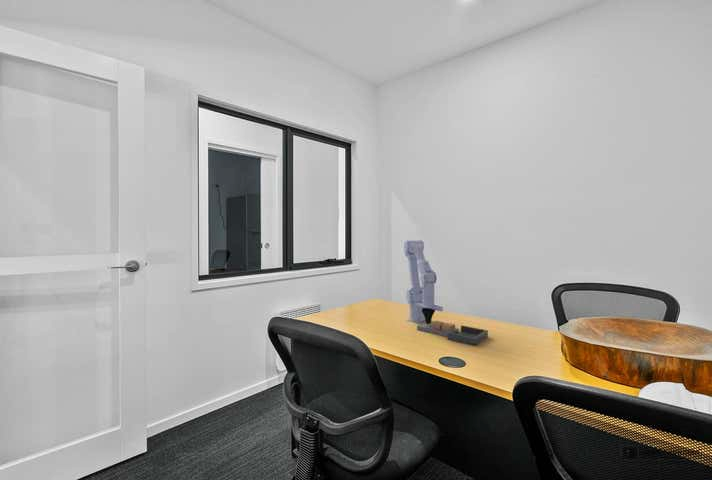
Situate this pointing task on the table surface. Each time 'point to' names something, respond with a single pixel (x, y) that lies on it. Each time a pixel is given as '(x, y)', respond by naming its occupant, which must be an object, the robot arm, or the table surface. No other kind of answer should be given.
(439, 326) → the tile back
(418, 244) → the robot arm
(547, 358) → the table surface
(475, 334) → the box
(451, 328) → the tile front
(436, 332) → the slate plate
